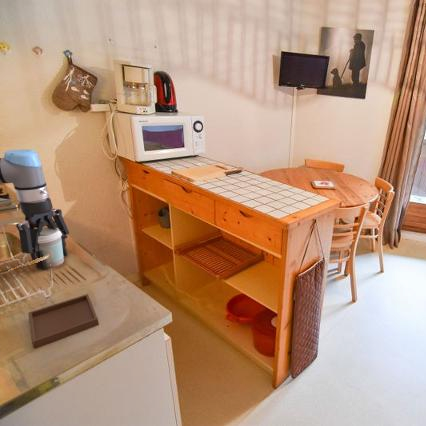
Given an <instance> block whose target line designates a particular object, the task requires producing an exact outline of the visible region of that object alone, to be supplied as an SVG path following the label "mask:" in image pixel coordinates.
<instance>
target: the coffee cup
mask: <svg viewBox="0 0 426 426" xmlns="http://www.w3.org/2000/svg"><path fill="white" fill-rule="evenodd" d="M61 236H62V233H61V231H59V229H58V228H56V229H49V228H48V227H47V226H45V227H43V228H42V231H41V232H40V237H38V243H39V251H42V254H43V256H45V255H47V254H50V257H49V258H48V259H45V260H44V261H45V264H46V267H47V268H54V267H58V266H60V265H62V264H63V263H64V262H65V258H64V257H65V256H63V248H62V239H61ZM50 264H51V267H50ZM47 268H46V269H47Z"/></svg>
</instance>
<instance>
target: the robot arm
mask: <svg viewBox="0 0 426 426" xmlns="http://www.w3.org/2000/svg"><path fill="white" fill-rule="evenodd" d="M46 181H47V180H46V178H45V173H44V170H43V164H42V163H41V161H40V157H39V155H38V152H36V150H33V149H25V148H19V149H11V150H6V151H5V152H3V157H0V185H5V184H12V185H13V188H14V191H15V195H16V199H17V201H19V207H20V210H21V213H22V214H23V215H24V221H23V222H21V223H19V222H18V223H16V224H15V227H16V229H17V230H18V236H19V241H20V249H21V253H22V254H28V255H29V254H30V257H31V260H32V261H33V260H35V259H37V258H40V257H43V254H42V251H39V243H38V237H40V232H41V231H42V228H45V227H48V228H49V229H56V228H58V229H59V231H61V233H62V236H61V239H62V248H63V257H68V251H67V248H66V246H67V242H66V239H67V238H68V235H69V234H70V230H69V229H68V226H67V224H66V221H65V219H64V217H63V213H62V209H60V208H53V203H52V199H51V198H50V193H49V188H48V185H47V182H46ZM35 266H36V269H40V270H45V269H47V267H46V264H45V261H44V260H43V261H40V262H38V263H35Z"/></svg>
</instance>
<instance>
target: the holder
mask: <svg viewBox="0 0 426 426" xmlns="http://www.w3.org/2000/svg"><path fill="white" fill-rule="evenodd" d="M96 313H97V312H96V311H95V308H94V306H93V303H92V300H91V298H90V295H89V294H88V293H87V294H83V295H80V296H77V297H74V298H70V299H66V300H63V301H61V302H58V303H54V304H51V305H48V306H44V307H41V308H39V309H35V310H32V311H29V312H27V314H28V322H29V327H30V328H29V329H30V336H31V343H32V346H33V349H37V348H40V347H42V346H45V345H48V344H51V343H53V342H56V341H59V340H61V339H65V338H67V337H70V336H73V335H75V334H78V333H80V332H83V331H86V330H89V329H91V328H94V327H96V326H99V325H100V322H99V319H98V316H97V314H96Z"/></svg>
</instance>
